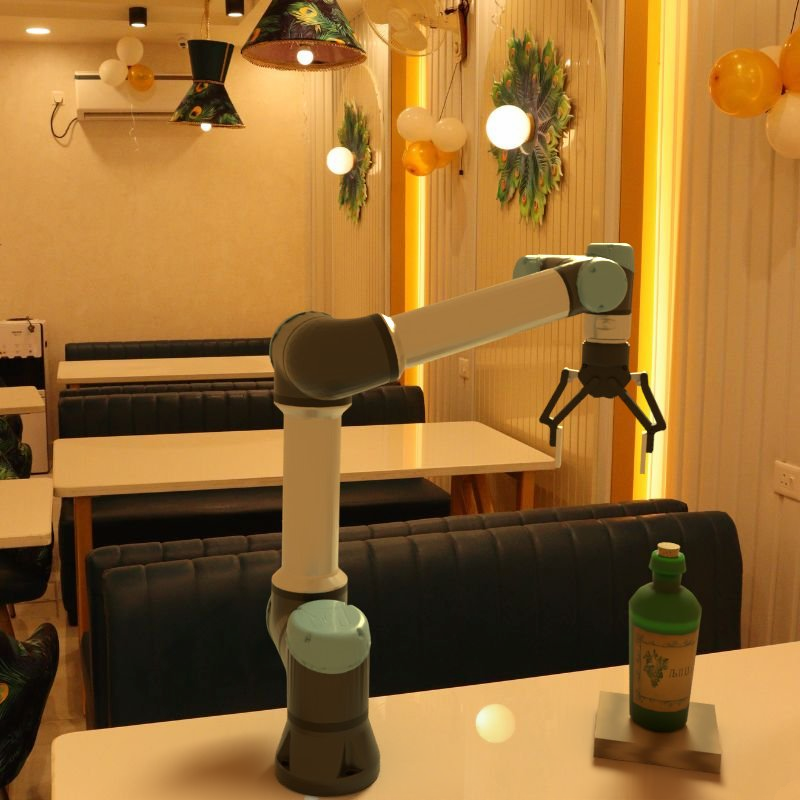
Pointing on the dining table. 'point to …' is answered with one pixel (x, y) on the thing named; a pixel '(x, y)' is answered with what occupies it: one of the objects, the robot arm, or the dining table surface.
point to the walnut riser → (657, 737)
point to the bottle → (662, 644)
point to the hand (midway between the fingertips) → (599, 469)
